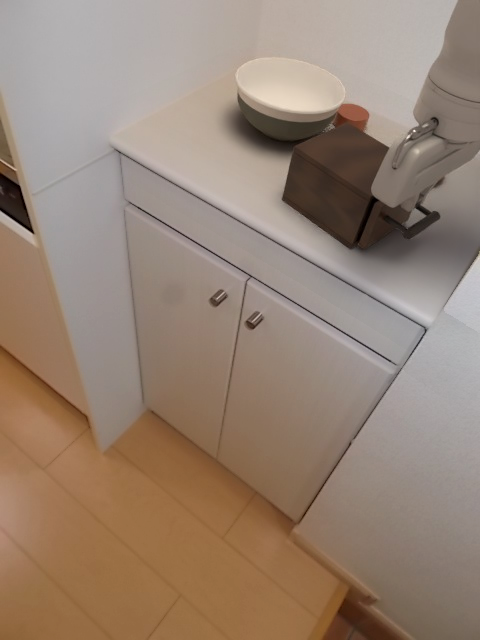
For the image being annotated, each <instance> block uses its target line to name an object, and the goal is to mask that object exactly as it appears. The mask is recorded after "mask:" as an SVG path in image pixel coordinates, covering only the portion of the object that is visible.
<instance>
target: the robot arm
mask: <svg viewBox="0 0 480 640" xmlns="http://www.w3.org/2000/svg"><path fill="white" fill-rule="evenodd" d="M412 114H413V115H412V116H413V118H414V120H415V121H416V122H417V123H418V125H417V126H413V127H412V128H410V129H409V130H408V131H407V132H405V133H403V134H401V135H400V136H399V137H397V138H396V139H394V141H393V143H392V144H391V145H390V146H389V150H388V152H387V154H386V156H385V158H384V160H383V162H382V164H381V166H380V168H379V170H378V173H377V175H376V177H375V179H374V182H373V184H372V187H371V191H372V195H373V196H374V197H375V198H377V199H378V200H380V201H381V202H383V203H384V204H386V205H388V206H389V207H392V208H394V207H396V206H398V205H399V204H400V206H401V208H403V209H404V210H406V211H408V212H410V211H412V212H413V211H414V210H416V209H415V208H416V207H418V206H419V205H421V206H422V205H423V204H424V202H425V199H426V197H427V196H428V194H429V193H430V192H431V191H432V189H433V188H434V187H435V186H436V184H437V183H439V182H438V180H440V179H441V178H443V177H444V176H445V177H446V176H447V175H449V174H451V173H452V172H454V171H455V170H457V169H459V168H461V167H462V166H464V165H465V164H467V163H469V162H470V161H472V160H473V159H474V158H475V157H476V155H477V154H478V153H479V152H480V0H457V2H456V3H455V6H454V8H453V10H452V13H451V15H450V17H449V20H448V23H447V24H446V28H445V30H444V36H443V43H442V47H441V50H440V52H439V54H438V56H437V57H436V58H435V60H434V61H433V63H432V64H431V66H430V67H429V69H428V73H427V74H426V77H425V79H424V81H423V85H422V87H421V90H420V92H419V95H418V98H417V100H416V102H415V104H414V106H413V110H412Z"/></svg>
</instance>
